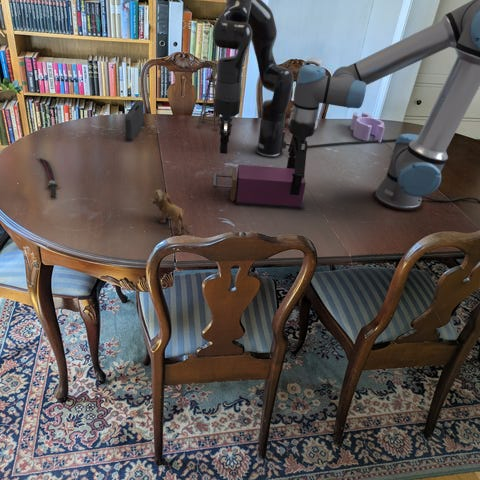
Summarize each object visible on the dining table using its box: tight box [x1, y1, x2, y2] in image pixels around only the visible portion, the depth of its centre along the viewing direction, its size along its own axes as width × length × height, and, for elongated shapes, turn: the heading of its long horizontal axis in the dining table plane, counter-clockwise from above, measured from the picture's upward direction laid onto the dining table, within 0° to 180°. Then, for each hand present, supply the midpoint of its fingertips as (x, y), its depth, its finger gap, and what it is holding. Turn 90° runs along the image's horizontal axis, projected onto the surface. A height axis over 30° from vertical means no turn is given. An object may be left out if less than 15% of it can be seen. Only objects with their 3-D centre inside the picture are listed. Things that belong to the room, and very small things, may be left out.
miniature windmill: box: [197, 54, 221, 131], centre depth 198 cm, size 9×8×30 cm
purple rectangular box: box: [235, 164, 307, 210], centre depth 150 cm, size 21×10×9 cm, turn 91°
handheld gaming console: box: [124, 99, 145, 141], centre depth 189 cm, size 23×3×10 cm, turn 178°
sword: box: [40, 158, 59, 198], centre depth 151 cm, size 31×3×1 cm, turn 26°
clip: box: [349, 112, 386, 143], centre depth 214 cm, size 20×12×7 cm, turn 11°
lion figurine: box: [149, 189, 191, 236], centre depth 131 cm, size 15×5×9 cm, turn 50°
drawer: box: [212, 167, 237, 202], centre depth 150 cm, size 26×9×7 cm, turn 91°
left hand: (223, 152), depth 144 cm, fingers closed
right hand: (291, 184), depth 150 cm, fingers open, 13 cm apart
